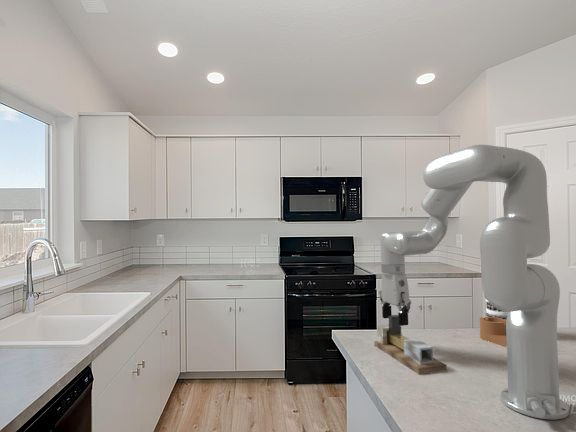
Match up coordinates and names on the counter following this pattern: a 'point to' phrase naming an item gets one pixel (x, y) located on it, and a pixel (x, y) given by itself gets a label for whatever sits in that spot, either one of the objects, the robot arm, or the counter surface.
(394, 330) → the brass bolt with handle
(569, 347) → the counter surface
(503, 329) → the bracket
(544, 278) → the robot arm
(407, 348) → the sliding bolt latch
